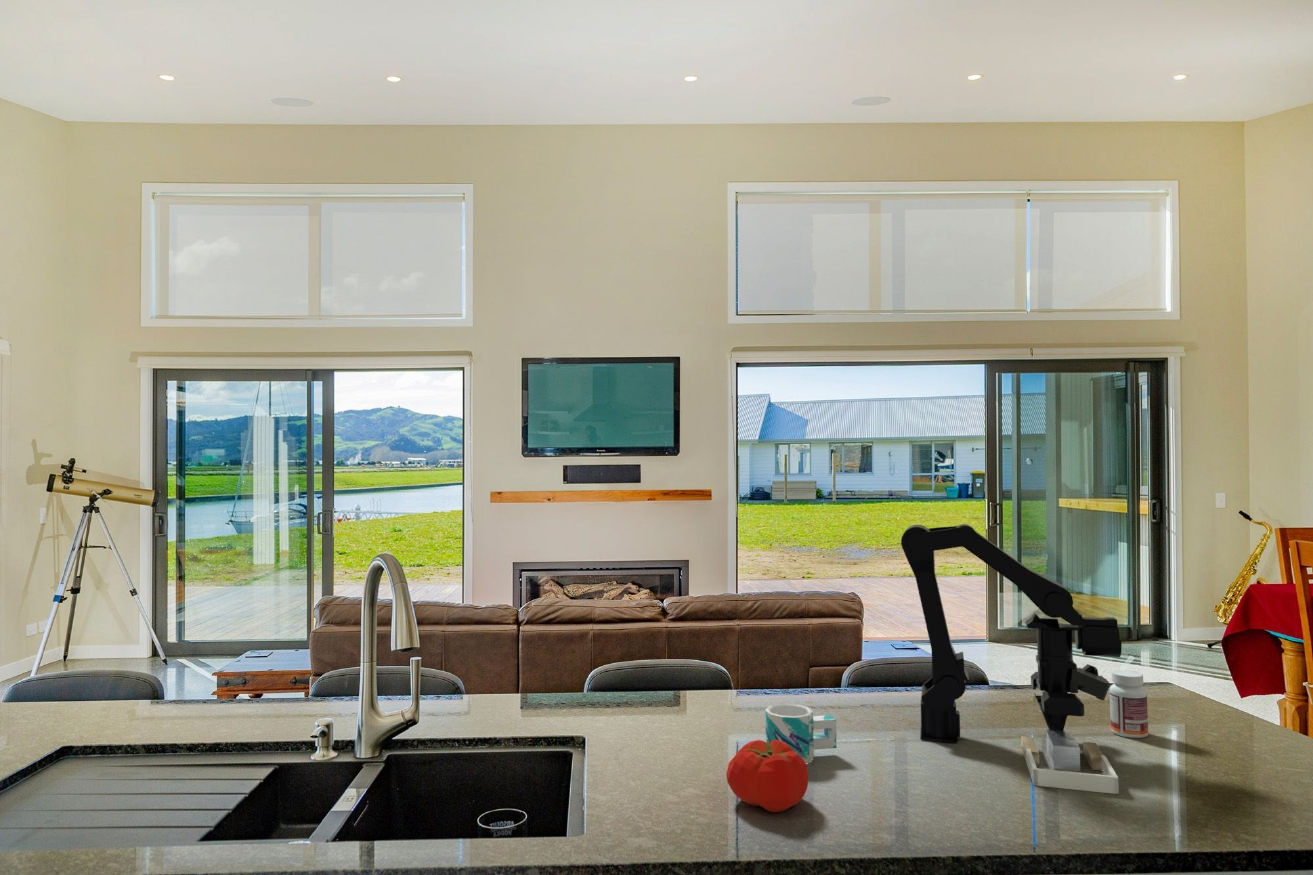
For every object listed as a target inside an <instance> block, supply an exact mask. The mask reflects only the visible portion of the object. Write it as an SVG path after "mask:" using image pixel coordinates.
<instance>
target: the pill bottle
mask: <svg viewBox="0 0 1313 875" xmlns="http://www.w3.org/2000/svg"><path fill="white" fill-rule="evenodd" d="M1111 682H1112V683H1113V684H1110V687H1109V711H1110V712H1109V713H1110V714H1109V716H1110V730H1111V732H1112V733H1114V734H1115V735H1117V736H1121V737H1123V738H1128V739H1142V738H1147V736H1148V735H1149V720H1148V716H1149V715H1148V714H1149V712H1148V693H1147V690H1146V688H1144V687H1143V685H1144V675H1143V673H1141V672H1138V671H1136V670H1131V669H1130V670H1127V669H1115V670H1112V671H1111Z"/></svg>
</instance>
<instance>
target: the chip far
mask: <svg viewBox="0 0 1313 875" xmlns="http://www.w3.org/2000/svg"><path fill="white" fill-rule="evenodd" d="M1045 731H1046V732H1045V737H1046V740H1045V741H1046V754H1047V757H1048V759H1049V760H1050V738H1057V739H1069V740H1076V739H1075V736H1074V734H1073V732H1072V731H1068V730H1067V731H1066V730H1065V731H1064V730H1063V731H1056V730H1049V729H1046V730H1045Z"/></svg>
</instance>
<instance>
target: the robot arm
mask: <svg viewBox="0 0 1313 875" xmlns="http://www.w3.org/2000/svg"><path fill="white" fill-rule="evenodd" d="M900 542H901V543H900V544H901V547H902V550H903V552H904V555H905V558H906V560H907V562H908V564H909V566H910V568H911V571H912V573H913V575H914V577H915V582H916V585H917V590H918V594H919V599H920V603H921V608H922V612H923V618H924V622H925V625H926V630H927V635H928V639H929V643H930V649H931V670H932V671H931V672H932V674H931V675H932V676H931V677H930V678H928V680H927V681H926V682H924V684H922V686H921V688H922V689H921V697H920V733H919V734H920V740H923V741H931V742H932V741H933V742H943V743H955V744H957V743H958V742H959V740H958V738H960V737H961V715H960V714H961V713H960V711H959V710H957V703H956V700H958V699H960V698H961V697H962V696H963V695H964V694H965V692H966V686H967V685H966V682H969V681H970V679H969V672H968V670H967V668H966V666H965V655H964V652H963V651H961V652H958V653H957V652H956V651H955V648H954V646H953V644H952V641H951V638H950V637H951V636H950V634H949V633H950V632H949V628H948V624H947V620H946V619H947V618H946V616H945V611H944V606H943V602H942V597H941V594H940V587H939V583H938V580H937V576H936V567H935V564H936V563H935V551H943V550H949V549H955V548H961V547H962V548H964V549H966V550H967V551H968V552H970V553H971V554H973V555H974V556H975V557H977V558H978V559H979V560H981V562H983V563H985V564H986V565H987V566H988V567H990V568H992V569H993V570H995V571H996V572H997V573H999V574H1000V575H1002V577H1004V578H1006V579H1007V580H1009V581H1010V582H1011V583H1013V584H1014V585H1015V586H1016V587H1017V588H1018V589H1019V590H1020V591H1022V593H1023V594H1024V595H1025V597H1027V598H1028V599H1029V600H1030V602H1032V603H1033V605H1035V606H1036V607H1037V608H1038V609H1039V610H1040V611H1041V612H1042V613H1043V614H1044V615H1045V616H1047V617H1041V616H1039V615H1038V614H1037V613H1036V612H1033V614H1032V615H1031V617H1029V618H1028V619H1026V620H1025V621H1024V622H1025V625H1026V627H1027V628H1028V629H1036V642H1037V646H1036V648H1037V650H1036V651H1037V654H1035V661H1036V663H1037V671H1035V672H1034V673H1032V674H1031V675H1030V687H1031V688H1032V690H1037V687H1038V690H1039V691H1040V695H1035V699H1036V702H1037V703H1038V707H1039V709H1040V711H1041V713H1042V716H1043V718H1044V721H1045V723H1046V726H1047V728H1048V730H1056V731H1064V730H1065V725H1066V722H1067V719H1068V717H1069V716H1073V717H1085V704H1084V702H1083V701H1082V699H1080V697H1079V696H1078V695H1076V694H1079V691H1080V692H1083V693H1086V694H1088V695H1091V696H1093V697H1095V698H1096V699H1098V700H1099V701H1105V699H1106V697H1107V694H1108V691H1109V690H1110V687H1111V683H1110V681H1108V679H1107V678H1105V677H1103V675H1099V671H1098V668H1097V667H1096V666H1093V665H1091V664H1088V663H1087V664H1086V665H1084V666H1083V667H1078V665H1077V663H1075V661H1074V658H1073V657H1074V656H1073V631H1074V643H1075V648H1076V650H1081V652H1082V654H1083V656H1090V657H1106V658H1121V656H1122V648H1123V647H1122V639H1121V637H1120V630H1119V627H1118V619H1117V618H1115V617H1113V616H1112V617H1111V616H1109V617H1108V616H1105V617H1086V616H1083V613H1081V612H1080V611H1079V610H1077V609H1075V607H1074V600H1073V599H1074V598H1073V596H1072V594H1071V593H1070V591H1068V589H1067V588H1066V587H1065V586H1064V585H1062V584H1061V583H1060V582H1057V581H1056V580H1054V579H1051V578H1050V577H1048V576H1046V575H1043V574H1041V573H1039V572H1037V571H1034V570H1032V569H1030V568H1028V567H1027V566H1025V565H1024V564H1022V563H1021V562H1020V561H1018V560H1017V559H1016V558H1014V557H1013V556H1011V555H1010V554H1008V553H1007V552H1005V551H1004V550H1003V549H1001V548H1000V547H998V545H996V544H994V543H993V542H991V540H989V539H988V538H986V537H984V536H983V535H982V534H980V533H979V532H977V531H976V530H975V528H974V527H973V526H972V525H970V524H968V523H963V524H958V525H955V526H954V525H951V526H939V527H930V528H928V527H926V526H925V525H923V524H922V525H921V524H914V525H913V524H912V525H910V526H908V527H907V528H906V529H905V530H904V532H903V533H902V535H901V540H900ZM1058 618H1061V619H1062V620H1064V621H1065V622H1067V623H1061V622H1059V619H1058Z"/></svg>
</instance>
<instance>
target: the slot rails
mask: <svg viewBox="0 0 1313 875" xmlns="http://www.w3.org/2000/svg"><path fill="white" fill-rule="evenodd" d="M1020 738H1021V739H1020V741H1021V743H1020V744H1021V750H1022V754H1023V757H1024V759H1025V763H1026V764H1027V762H1026V748H1027V749H1030V750H1031V753H1032V756H1033V759H1034V761H1035V764H1036V765H1040V752H1039V751H1040V750H1039V749H1038V747H1037V743H1036V740H1035V737H1031V736H1024V735H1023V736H1020ZM1082 744H1083V745H1082V749H1083V756H1084V757H1085V760H1086V761H1087V763H1088V764H1089V767H1090V768H1091V770H1094V771H1101V755H1103V752H1102V751H1101V750H1100V749H1101V748H1100V747H1099V746H1098V744H1097V743H1096V742H1089V741H1082Z"/></svg>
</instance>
